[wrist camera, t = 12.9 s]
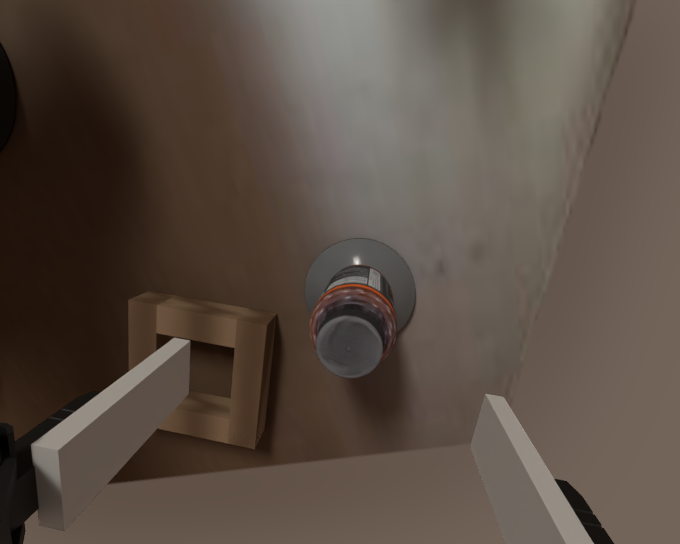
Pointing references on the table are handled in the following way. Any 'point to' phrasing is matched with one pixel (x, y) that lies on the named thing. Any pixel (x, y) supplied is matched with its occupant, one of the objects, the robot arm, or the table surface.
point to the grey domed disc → (369, 255)
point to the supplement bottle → (354, 322)
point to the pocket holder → (221, 329)
